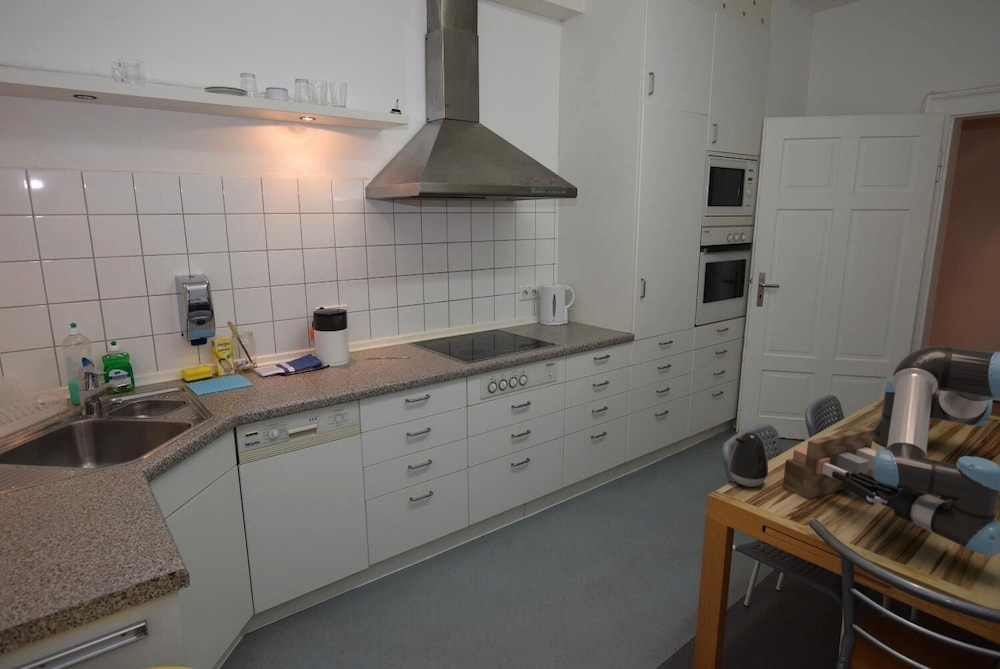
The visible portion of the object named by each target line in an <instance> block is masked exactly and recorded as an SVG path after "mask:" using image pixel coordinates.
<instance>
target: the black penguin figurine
mask: <svg viewBox="0 0 1000 669" xmlns="http://www.w3.org/2000/svg"><path fill="white" fill-rule="evenodd" d="M735 441H736V444H735V446H734V448H733V450H732V452H731V456H730V459H729V463H728V470H729V472H730V476H731V477H732V479H733V480H734V481H735V483H737V484H739V485H741V486H744V487H748V488H753V487H758V486H760V485H763V483H764V481H765V480H766V478H767V477H768V474H769V462H768V455H767V450H766V447H765V444H764V441H763V439H762V438H761V436H760V435H759V434H757V433H756V432H753V431H748V432H745V433H743V434H742V435H741V436H740V437H736V438H735Z"/></svg>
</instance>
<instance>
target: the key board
mask: <svg viewBox="0 0 1000 669" xmlns="http://www.w3.org/2000/svg"><path fill="white" fill-rule="evenodd" d="M874 429H875V428H871V427H868V426H867V427H862V428H857V429H854V430H849V431H848V430H847V431H845V432H841V433H837V434H833V435H828V436H823V437H819V438H816V439H811V440H808V441H807V447H806V448H807V455H806V464H805V466H803V465H801V464H799V463H796V462H794V461H793V459H789V458H788V459H785V467H784V473H783V475H784V476H783V481H782V487H783V488H785V489H787V490H789V491H790V492H793V493H795V494H797V495H799V496H801V497H803V498H805V499H807V500H811V499H814V498H818V497H820V496H824V495H828V494H830V493H834V492H837V491H841V490H843V489H844V490H845V488H843V487H842V482H841V481H839V480H837V479H834V478H832V477H830V476H827V475H825V474H820V475H818V474H816V473H815V470H816V462H817V458H821V457H825V456H826V457H829V458H830V464H831V465H834V466H836V458H837V453H841V452H845V451H846V452H848V453H851V454H854V455H856V449H857V448H860V447H867V448H870V449H872V445H873V433H874Z"/></svg>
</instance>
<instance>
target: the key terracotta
mask: <svg viewBox="0 0 1000 669" xmlns="http://www.w3.org/2000/svg"><path fill="white" fill-rule="evenodd" d="M806 455H807V447H799V448H795V449H793V456H792V461H794V462H796V463H799V464H801V465H803V466H805V464H806ZM824 463H829V464H830V458H829V457H826V456H825V457H821V458H817V462H816V470H815V473H816V474H818V475H820V474H823V473H822V470H823V464H824Z"/></svg>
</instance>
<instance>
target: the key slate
mask: <svg viewBox="0 0 1000 669" xmlns="http://www.w3.org/2000/svg"><path fill="white" fill-rule="evenodd" d="M836 467H838V468H841V469H843V470H846V471H848V472H850V473H856V474H859V472H861V473H865V474H868V473H869V460H866V459H864V458H861V457H859V456H856V455H854V454H851V453H848V452H846V451H845V452H841V453H837V458H836ZM868 475H869V474H868Z"/></svg>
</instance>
